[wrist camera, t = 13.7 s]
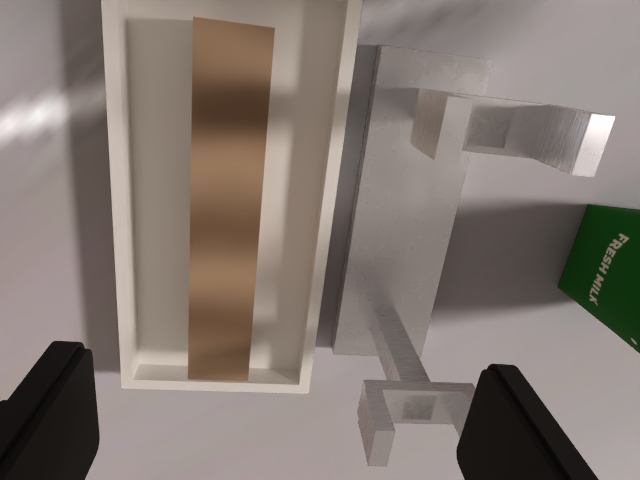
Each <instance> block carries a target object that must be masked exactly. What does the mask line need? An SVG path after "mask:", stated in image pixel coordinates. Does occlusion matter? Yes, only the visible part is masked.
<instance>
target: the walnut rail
mask: <svg viewBox="0 0 640 480" xmlns="http://www.w3.org/2000/svg"><path fill="white" fill-rule="evenodd" d="M274 33H275V28H272V27H265V26H258V25H250V24H243V23H236V22H228V21H221V20H214V19H206V18H199V17H193V52H192V121H191V190H190V258H189V327H188V379H192V380H224V381H248V376H249V363H250V350H251V336H252V323H253V310H254V297H255V284H256V271H257V257H258V244H259V231H260V218H261V205H262V191H263V178H264V165H265V152H266V139H267V125H268V112H269V99H270V86H271V73H272V59H273V46H274Z"/></svg>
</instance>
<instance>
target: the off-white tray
mask: <svg viewBox="0 0 640 480" xmlns="http://www.w3.org/2000/svg"><path fill="white" fill-rule="evenodd" d="M362 5H363V0H101V8H102V27H103V46H104V65H105V84H106V103H107V122H108V141H109V159H110V178H111V197H112V216H113V235H114V254H115V273H116V292H117V311H118V330H119V349H120V367H121V386H122V388H128V389H163V390H199V391H234V392H270V393H305V394H309V387H310V379H311V372H312V365H313V358H314V351H315V343H316V336H317V329H318V322H319V315H320V307H321V300H322V293H323V286H324V279H325V271H326V264H327V257H328V250H329V243H330V235H331V228H332V221H333V214H334V207H335V199H336V192H337V185H338V178H339V171H340V163H341V156H342V149H343V142H344V134H345V127H346V120H347V113H348V106H349V98H350V91H351V84H352V77H353V70H354V62H355V55H356V48H357V41H358V34H359V26H360V19H361V12H362ZM193 17H199V18H206V19H214V20H221V21H228V22H236V23H243V24H250V25H258V26H265V27H272V28H275V33H274V46H273V59H272V73H271V86H270V99H269V112H268V125H267V139H266V152H265V165H264V178H263V191H262V205H261V218H260V231H259V244H258V257H257V271H256V284H255V297H254V310H253V323H252V336H251V350H250V363H249V376H248V381H224V380H192V379H188V327H189V258H190V190H191V121H192V52H193Z"/></svg>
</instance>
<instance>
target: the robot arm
mask: <svg viewBox="0 0 640 480" xmlns="http://www.w3.org/2000/svg"><path fill="white" fill-rule="evenodd" d="M98 446H99V425H98V413H97V402H96V391H95V379H94V368H93V357H92V351H91V350H90V349H85V348H84V345H83V343H81V342H68V341H54V342H52V343H51V344H50V346H49V347H48V348H47V349H46V351H45V352H44V353H43V355H42V356H41V357H40V359H39V360H38V361H37V362H36V364H35V365H34V366H33V368H32V369H31V370H30V372H29V373H28V374H27V375H26V377H25V378H24V379H23V381H22V382H21V383H20V384H19V386H18V387H17V388H16V390H15V391H14V392H13V394H12V395H11V396H10V397H9V399H8V400H2V401H0V480H85V478H86V476H87V473H88V471H89V469H90V467H91V465H92V462H93V460H94V458H95V456H96V453H97V450H98ZM457 461H458V464H459V467H460V469H461V472H462V474H463V476H464V479H465V480H598V478H597V477H596V475H595V474H594V473H593V471H592V470H591V469H590V467H589V466H588V464H587V463H586V462H585V460H584V459H583V457H582V456H581V455H580V453H579V452H578V451H577V449H576V448H575V446H574V445H573V444H572V442H571V441H570V439H569V438H568V437H567V435H566V434H565V433H564V431H563V430H562V428H561V427H560V426H559V424H558V423H557V422H556V420H555V419H554V417H553V416H552V415H551V413H550V412H549V410H548V409H547V408H546V406H545V405H544V404H543V402H542V401H541V399H540V398H539V397H538V395H537V394H536V392H535V391H534V390H533V388H532V387H531V386H530V384H529V383H528V381H527V380H526V379H525V377H524V376H523V374H522V373H521V372H520V370H519V369H518V368H517V367H516V366H514V365H504V364H490V365H489V366H488V368H487V369H485V370H483V371H482V372H481V374H480V377H479V380H478V384H477V387H476V390H475V393H474V396H473V399H472V402H471V405H470V409H469V412H468V415H467V418H466V421H465V424H464V427H463V431H462V434H461V437H460V440H459V443H458V446H457Z"/></svg>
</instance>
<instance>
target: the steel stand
mask: <svg viewBox="0 0 640 480" xmlns="http://www.w3.org/2000/svg"><path fill="white" fill-rule="evenodd" d="M493 61H494V60H487V59H480V58H472V57H465V56H458V55H450V54H443V53H435V52H428V51H421V50H413V49H406V48H399V47H391V46H384V45H378V47H377V54H376V60H375V67H374V73H373V80H372V86H371V93H370V99H369V106H368V112H367V118H366V125H365V131H364V138H363V144H362V151H361V157H360V164H359V170H358V177H357V183H356V190H355V196H354V203H353V209H352V215H351V222H350V228H349V235H348V241H347V248H346V254H345V261H344V267H343V274H342V280H341V287H340V293H339V300H338V306H337V312H336V319H335V325H334V332H333V338H332V350H333V354H336V355H361V356H379V358H380V361H381V364H382V367H383V370H384V372H385V375H386V378H387V380H364V381H363V386H362V391H361V396H360V401H359V407H358V412H357V413H358V417H359V420H358V424H359V429H360V433H361V437H362V441H363V446H364V450H365V454H366V459H367V463H368V466H387V464H388V460H389V456H390V451H391V447H392V443H393V439H394V434H395V428H394V425H393V423H412V424H454V426H455V428H456V431H457V433H458V435H459V437H461V434H462V431H463V427H464V424H465V421H466V418H467V415H468V412H469V409H470V405H471V402H472V399H473V396H474V393H475V390H476V389H475V387H474V385H473V384H472V383H449V382H430V380H429V378H428V376H427V374H426V371H425V369H424V367H423V365H422V363H421V361H420V359H419V358H421V354H422V350H423V346H424V342H425V338H426V334H427V330H428V326H429V322H430V318H431V314H432V310H433V305H434V301H435V297H436V293H437V289H438V285H439V281H440V277H441V273H442V269H443V265H444V261H445V257H446V252H447V248H448V244H449V240H450V236H451V232H452V228H453V224H454V220H455V216H456V212H457V208H458V203H459V199H460V195H461V191H462V187H463V183H464V179H465V175H466V171H467V167H468V163H469V159H470V154H471V152H477V153H486V154H496V155H505V156H514V157H524V158H533V159H535V160H537V161H540V162H542V163H545V164H547V165H549V166H552V167H554V168H557V169H559V170H561V171H564V172H566V173H569V174H571V175H579V176H588V177H594V176H595V173H596V170H597V167H598V165H599V162H600V159H601V156H602V153H603V150H604V148H605V145H606V142H607V139H608V136H609V133H610V131H611V128H612V125H613V122H614V119H615V117H614V116H609V115H604V114H599V113H594V112H589V111H584V110H579V109H574V108H568V107H563V106H558V105H550V104H542V103H534V102H526V101H518V100H510V99H502V98H494V97H486V96H485V93H486V89H487V85H488V81H489V77H490V73H491V69H492V65H493Z"/></svg>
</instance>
